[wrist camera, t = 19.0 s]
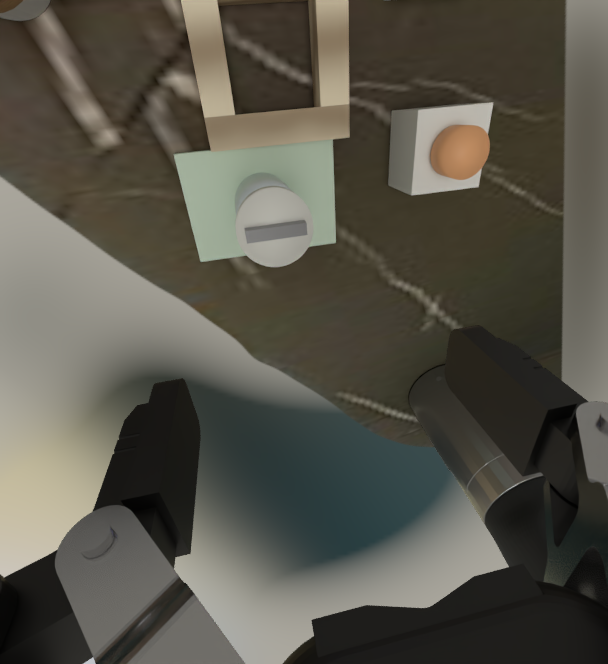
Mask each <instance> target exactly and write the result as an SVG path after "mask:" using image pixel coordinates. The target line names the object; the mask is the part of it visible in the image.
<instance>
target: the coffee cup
mask: <svg viewBox="0 0 608 664" xmlns="http://www.w3.org/2000/svg"><path fill="white" fill-rule="evenodd" d="M49 3H50V0H0V18H4V19H8V20H16V21H25V20H31V19H33V18H36V17H38V16H39V15H40V14H42V13H43V12H44V11H45V9H46V8H47V6H48V5H49Z"/></svg>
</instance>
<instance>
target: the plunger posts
mask: <svg viewBox="0 0 608 664" xmlns="http://www.w3.org/2000/svg"><path fill="white" fill-rule="evenodd" d="M384 1H389V0H384ZM492 108H493V102H492V103H471V104H454V105H444V106H433V107H423V108H413V109H403V110H392V114H391V135H390V157H389V178H388V186H391V187H393V188H395V189H398V190H400V191H402V192H405V193H407V194H409V195H419V194H427V193H435V192H443V191H451V190H458V189H466V188H474V187H479V181H480V175H481V170H482V168H481V169H480V171H479V172H477V173H476V174H475V175H474V176H472V177H470V178H468V179H465V180H456V179H453V178H449V177H446V176H442V175H440V174H438V173H437V172H436V171H435V170H434V169H433V167H432V164H431V149H432V146H433V143H434V141H435V140H436V138H437V137H438V135H439V134H440V133H441V132H442V131H443V130H444V129H446V128H448V127H450V126H452V125H475V126H479V127H481V128H483V129H484V130H485V131H486V133H487V134H488V130H489V125H490V119H491V113H492Z"/></svg>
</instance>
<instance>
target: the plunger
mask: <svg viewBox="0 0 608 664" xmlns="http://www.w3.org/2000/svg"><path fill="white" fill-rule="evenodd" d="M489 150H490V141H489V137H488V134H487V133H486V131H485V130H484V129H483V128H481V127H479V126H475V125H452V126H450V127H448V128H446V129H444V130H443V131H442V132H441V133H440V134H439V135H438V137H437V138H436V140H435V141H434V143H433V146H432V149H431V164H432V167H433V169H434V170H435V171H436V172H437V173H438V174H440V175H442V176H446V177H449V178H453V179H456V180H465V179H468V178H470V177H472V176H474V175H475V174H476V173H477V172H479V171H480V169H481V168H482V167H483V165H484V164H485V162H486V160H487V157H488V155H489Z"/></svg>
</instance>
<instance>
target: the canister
mask: <svg viewBox="0 0 608 664" xmlns="http://www.w3.org/2000/svg"><path fill="white" fill-rule="evenodd" d="M235 211H236V221H235V228H236V236H237V240H238V243H239V245H240V247H241V249H242V250H243V252H244V253H245V254H246V255H247V256H248V257H249V258H250V259H251V260H253V261H254V262H256V263H258V264H260V265H263V266H268V267H281V266H286V265H288V264H291V263H293V262H294V261H296V260H297V259H299V258H300V257H301V256H302V255H303V254H304V253H305V251H306V250H307V249H308V247H309V245H310V243H311V240H312V236H313V230H314V229H313V219H312V215H311V212H310V210H309V208H308V206H307V205H306V204H305V202H304V201H303V200H302V199H301V198H300V197H299V196H298V195H297V194H296V193H294V192H293V191H292V190H291V189H290V188H289V187H288V186H287V185H286V184H285V183H284V182H283V181H282V180H281V179H280V178H278V177H277V176H275V175H273V174H270V173H264V172H261V173H255V174H252V175H250V176H248V177H247V178H245V179H244V180H243V181H242V182H241V184H240V185H239V187H238V189H237V191H236V195H235Z"/></svg>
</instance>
